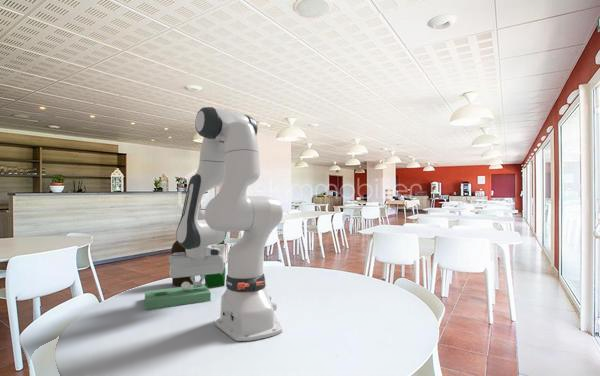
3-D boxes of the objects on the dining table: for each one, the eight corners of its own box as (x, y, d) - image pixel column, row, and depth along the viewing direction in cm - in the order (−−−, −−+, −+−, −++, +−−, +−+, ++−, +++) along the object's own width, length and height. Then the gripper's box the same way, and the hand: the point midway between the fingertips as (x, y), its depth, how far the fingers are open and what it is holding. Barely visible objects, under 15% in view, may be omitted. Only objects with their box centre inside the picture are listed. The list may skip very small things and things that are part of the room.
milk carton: (227, 286, 140) (227, 240, 141) (205, 288, 136) (205, 241, 137) (222, 281, 148) (223, 237, 149) (202, 283, 144) (202, 238, 145)
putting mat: (204, 291, 132) (204, 284, 132) (210, 300, 120) (210, 292, 120) (144, 299, 122) (144, 291, 122) (145, 309, 111) (145, 301, 111)
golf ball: (191, 291, 122) (191, 282, 122) (181, 292, 120) (181, 283, 120) (190, 289, 125) (190, 280, 125) (180, 290, 123) (180, 281, 124)
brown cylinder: (165, 285, 141) (166, 228, 142) (183, 279, 151) (183, 226, 152) (184, 288, 137) (184, 229, 138) (201, 282, 147) (201, 227, 148)
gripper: (169, 254, 118) (169, 292, 117) (225, 250, 127) (225, 285, 126) (168, 251, 123) (167, 288, 123) (221, 248, 132) (221, 281, 132)
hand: (197, 286), depth 125 cm, fingers closed
